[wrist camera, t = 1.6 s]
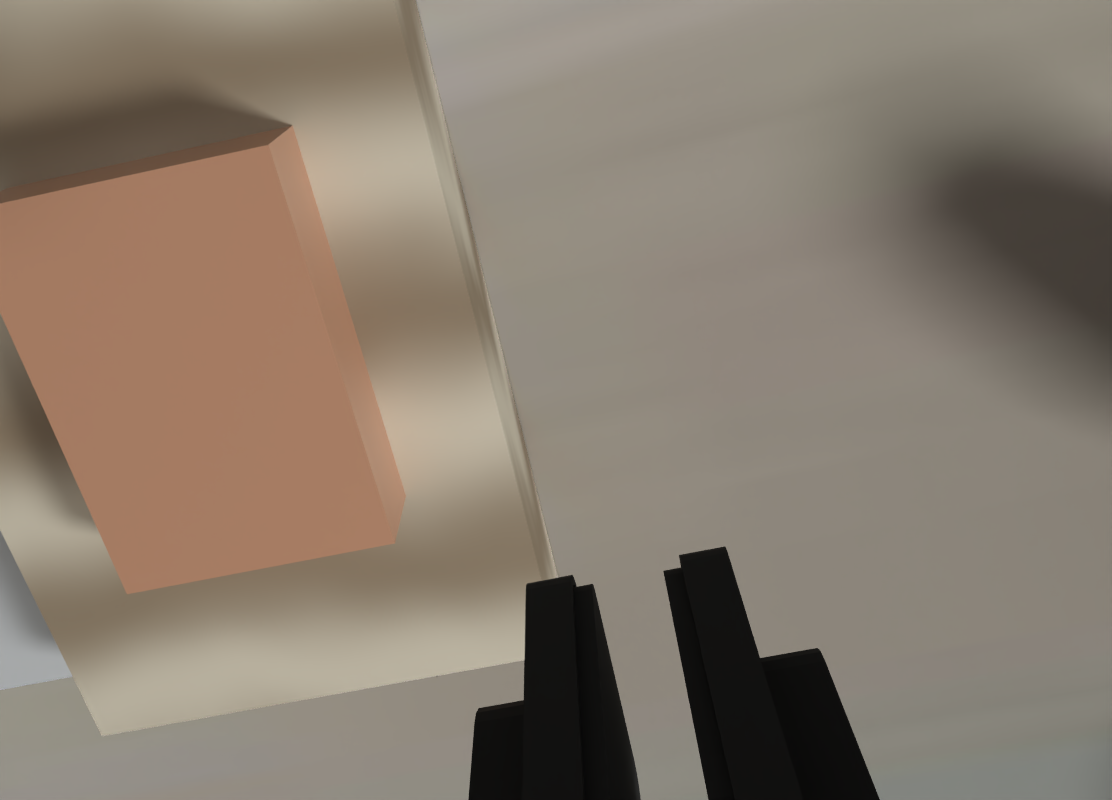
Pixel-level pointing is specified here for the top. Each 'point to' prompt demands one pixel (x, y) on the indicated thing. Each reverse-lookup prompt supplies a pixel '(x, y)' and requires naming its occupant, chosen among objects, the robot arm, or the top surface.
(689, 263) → the top surface
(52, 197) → the tile
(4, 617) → the mat
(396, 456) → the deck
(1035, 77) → the top surface
